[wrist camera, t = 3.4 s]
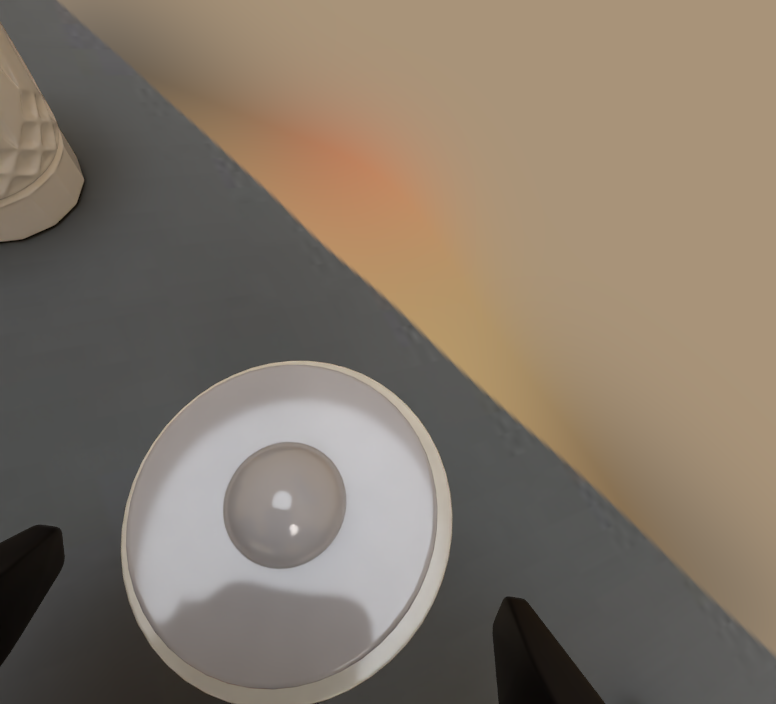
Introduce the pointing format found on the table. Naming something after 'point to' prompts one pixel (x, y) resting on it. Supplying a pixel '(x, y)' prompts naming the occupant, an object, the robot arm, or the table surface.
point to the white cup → (31, 154)
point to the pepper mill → (286, 534)
